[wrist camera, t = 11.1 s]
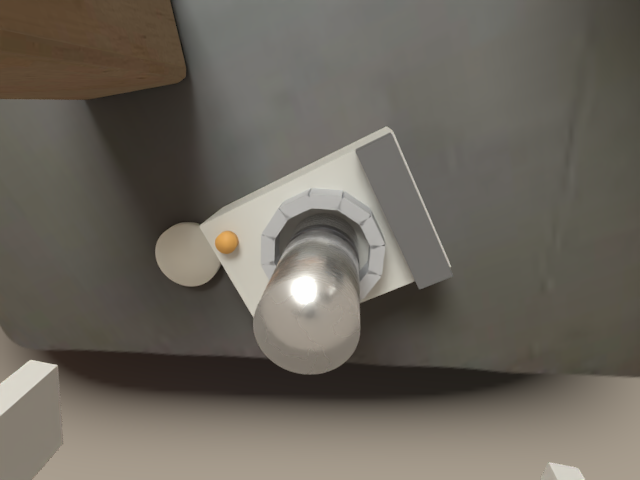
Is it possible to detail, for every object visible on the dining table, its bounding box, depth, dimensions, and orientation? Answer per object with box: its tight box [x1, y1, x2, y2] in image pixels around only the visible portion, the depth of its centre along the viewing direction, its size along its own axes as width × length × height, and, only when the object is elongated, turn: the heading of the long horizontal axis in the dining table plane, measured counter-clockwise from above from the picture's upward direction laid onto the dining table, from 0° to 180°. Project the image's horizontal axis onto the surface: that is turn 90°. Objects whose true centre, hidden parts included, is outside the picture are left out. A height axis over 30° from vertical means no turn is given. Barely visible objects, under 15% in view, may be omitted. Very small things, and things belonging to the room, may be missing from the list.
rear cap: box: [155, 222, 221, 286], centre depth 38 cm, size 6×6×2 cm
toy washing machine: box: [199, 126, 453, 318], centre depth 33 cm, size 16×11×8 cm
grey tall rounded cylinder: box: [253, 213, 360, 374], centre depth 25 cm, size 5×5×12 cm
